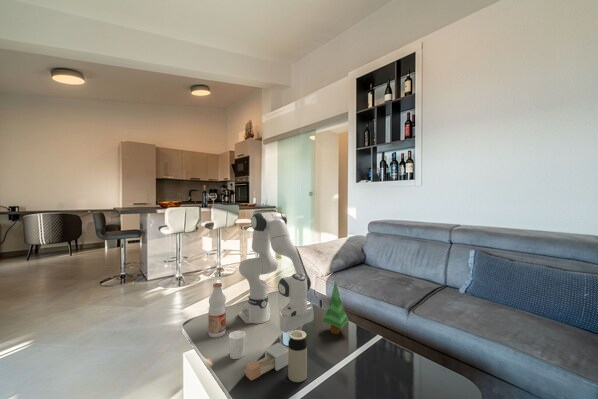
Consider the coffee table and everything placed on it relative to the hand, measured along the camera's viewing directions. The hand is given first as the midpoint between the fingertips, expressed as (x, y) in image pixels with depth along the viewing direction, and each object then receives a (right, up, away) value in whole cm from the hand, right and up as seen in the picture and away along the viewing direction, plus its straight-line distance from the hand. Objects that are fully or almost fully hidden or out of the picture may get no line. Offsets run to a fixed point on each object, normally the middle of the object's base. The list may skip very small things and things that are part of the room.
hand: (297, 334), depth 130 cm
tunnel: (-9, -8, -10) cm, 15 cm away
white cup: (-29, -8, -4) cm, 31 cm away
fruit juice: (-46, -8, +16) cm, 49 cm away
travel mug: (0, -8, -19) cm, 21 cm away
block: (-19, -8, -19) cm, 28 cm away
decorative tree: (+22, -9, +19) cm, 30 cm away
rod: (-11, -8, -11) cm, 18 cm away
